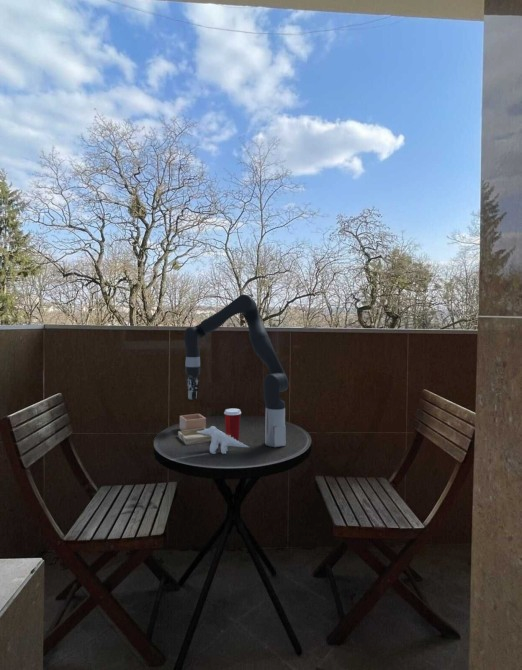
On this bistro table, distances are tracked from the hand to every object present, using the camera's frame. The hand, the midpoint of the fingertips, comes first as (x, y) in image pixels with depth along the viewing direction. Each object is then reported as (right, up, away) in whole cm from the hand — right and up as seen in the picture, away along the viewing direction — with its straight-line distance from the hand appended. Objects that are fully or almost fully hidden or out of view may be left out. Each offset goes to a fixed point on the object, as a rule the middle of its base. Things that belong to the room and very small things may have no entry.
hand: (192, 398), depth 186 cm
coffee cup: (+22, -18, -14) cm, 32 cm away
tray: (+4, -18, -14) cm, 23 cm away
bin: (0, -18, +1) cm, 18 cm away
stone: (0, 0, 0) cm, 0 cm away
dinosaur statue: (+19, -19, -29) cm, 40 cm away
